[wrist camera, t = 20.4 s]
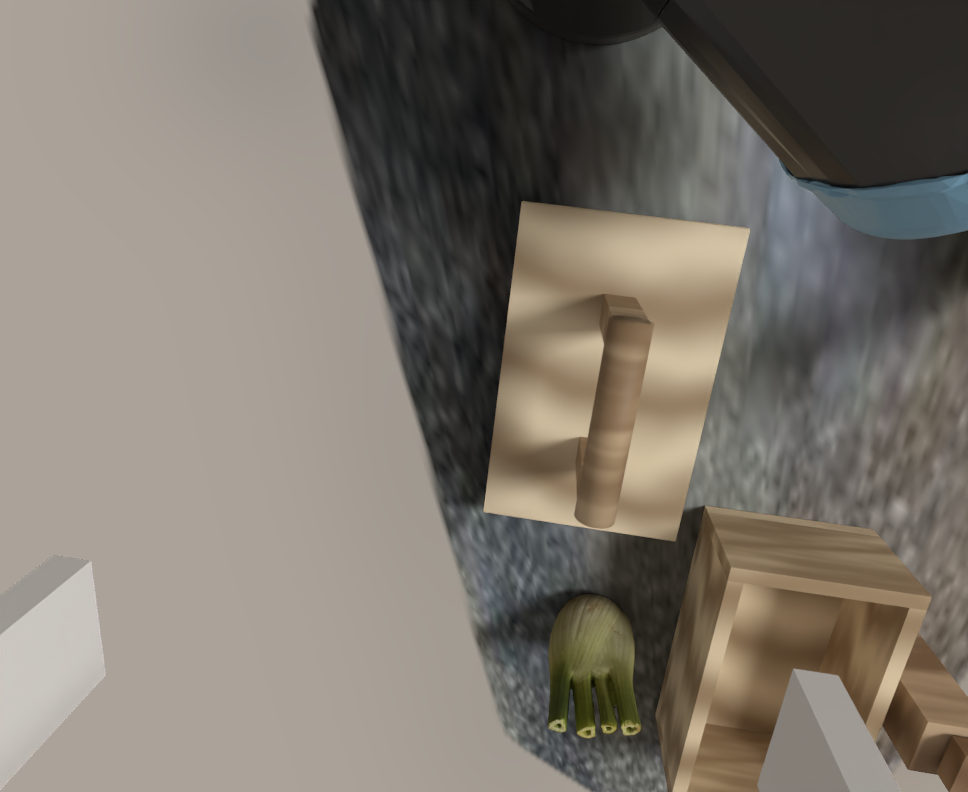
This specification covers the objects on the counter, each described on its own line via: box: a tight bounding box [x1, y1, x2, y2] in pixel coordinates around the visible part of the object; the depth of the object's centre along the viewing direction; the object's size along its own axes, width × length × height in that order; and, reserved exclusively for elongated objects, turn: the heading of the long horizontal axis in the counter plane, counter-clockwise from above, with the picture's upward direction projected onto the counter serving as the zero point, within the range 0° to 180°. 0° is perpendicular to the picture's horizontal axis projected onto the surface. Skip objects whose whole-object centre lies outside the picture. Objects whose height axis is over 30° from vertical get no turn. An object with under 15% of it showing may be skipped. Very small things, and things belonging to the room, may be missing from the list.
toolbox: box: [655, 506, 968, 792], centre depth 46 cm, size 20×18×10 cm
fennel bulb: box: [548, 594, 642, 739], centre depth 46 cm, size 6×5×12 cm
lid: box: [483, 201, 750, 542], centre depth 41 cm, size 22×14×11 cm, turn 174°
